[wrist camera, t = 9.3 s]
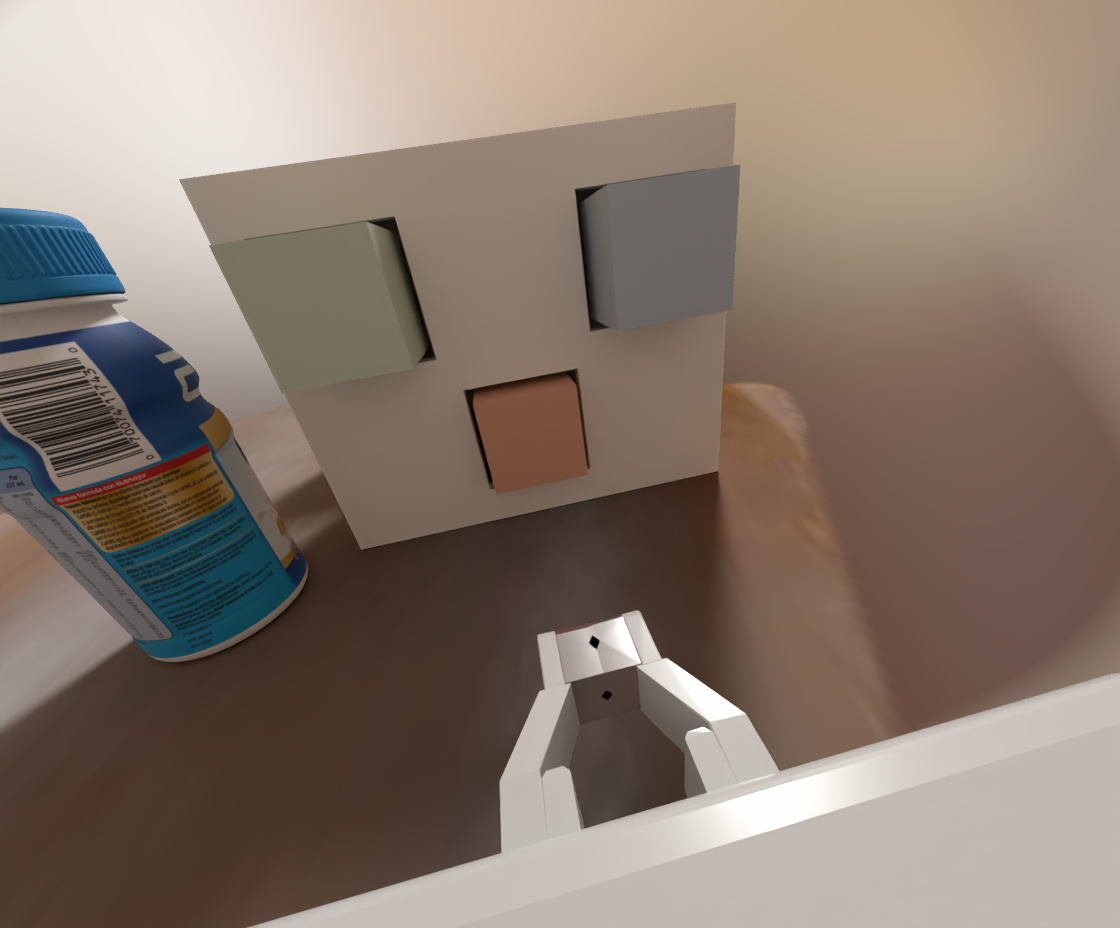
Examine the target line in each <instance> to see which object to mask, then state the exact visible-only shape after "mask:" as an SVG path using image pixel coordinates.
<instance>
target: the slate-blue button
mask: <svg viewBox="0 0 1120 928" xmlns="http://www.w3.org/2000/svg"><path fill="white" fill-rule="evenodd" d="M739 177H740V165H733V166H727V167H720V168H714V169H707V170H701V171H694V172H688V173H681V174H674V175H668V176H661V177H655V178H648V179H642V180H635V181H629V182H622V183H615V184H609V185H606V186H604V187H603V188H601V189H600V190H598V191H597V192H595V193H594V194H592V195H591V196H589V197H588V198H586V199H585V200H583V201H582V202H580V203H579V204H578V214H579V224H580V233H581V243H582V252H583V262H584V271H585V281H586V290H587V300H588V309H589V318H592V319H594V320H596V321H598V322H600V323H602V324H604V325H606V326H608V327H610V328H612V329H614V330H616V331H622V330H628V329H633V328H638V327H644V326H649V325H655V324H660V323H665V322H671V321H676V320H682V319H687V318H692V317H698V316H703V315H709V314H714V313H720V312H725V311H730V310H732V305H733V287H734V268H735V251H736V232H737V215H738V196H739Z"/></svg>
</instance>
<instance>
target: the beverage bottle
mask: <svg viewBox="0 0 1120 928" xmlns="http://www.w3.org/2000/svg"><path fill="white" fill-rule="evenodd" d="M124 293H125V289H124V287H123V285H122V283H121V282H120V280H119V278H118V277H117V276H116V273H115V271H114V269H113V268H112V266H111V264H110V263H109V261H108V260H107V258H106V256H105V255H104V253H103V251H102V250H101V248H100V247H99V245H98V243H97V242H96V240H95V238H94V237H93V235H92V234H90V233H89V232H88V231H87V229H86V228H85V226H84V225H83V224H82V223H81V222H80V221H79V220H77V219H75V218H73V217H70V216H67V215H63V214H59V213H53V212H46V211H37V210H27V209H12V208H0V510H1V511H3V512H5V513H7V514H9V515H11V516H13V517H14V518H15V519H16V520H17V521H18V522H19V523H20V524H21V525H22V526H23V527H24V528H25V529H26V530H27V531H28V532H29V533H30V534H31V535H32V536H33V537H34V538H35V539H36V540H37V541H38V542H39V543H40V544H41V545H42V546H43V547H44V548H45V549H46V550H47V551H48V552H49V553H50V554H51V555H52V556H53V557H54V558H55V559H56V560H57V561H58V562H59V563H60V564H61V565H62V566H63V567H64V568H65V569H66V570H67V571H68V572H69V573H70V574H71V575H72V576H73V577H74V578H75V579H76V580H77V581H78V582H79V583H80V584H81V585H82V586H83V587H84V588H85V589H86V590H87V591H88V592H89V594H90V595H91V596H92V597H93V598H94V599H95V600H96V601H97V602H98V603H99V604H100V605H101V606H102V607H103V608H104V609H105V610H106V611H107V612H108V613H109V614H110V615H111V616H112V617H113V618H114V619H115V620H116V621H117V622H118V623H119V624H120V625H121V626H122V627H123V628H124V629H125V630H126V631H127V632H128V633H129V634H130V635H131V636H132V637H133V639H134V640H135V642H136V643H137V644H138V645H139V646H140V647H141V648H142V649H143V650H144V651H145V652H146V653H147V654H148V655H149V656H151V657H152V658H154V659H157V660H160V661H166V662H182V661H189V660H194V659H198V658H201V657H205V656H208V655H211V654H214V653H216V652H219V651H221V650H224V649H226V648H228V647H230V646H232V645H234V644H236V643H238V642H240V641H242V640H244V639H246V638H247V637H249V636H251V635H252V634H254V633H256V632H257V631H259V630H260V629H262V628H263V627H264V626H266V625H267V624H268V623H270V622H271V621H272V620H274V619H275V618H276V617H277V616H278V615H280V614H281V613H282V612H283V611H284V610H285V609H286V608H287V607H288V606H289V605H290V604H291V603H292V602H293V601H294V599H295V598H296V597H297V596H298V594H299V593H300V591H301V590H302V588H303V586H304V584H305V582H306V579H307V576H308V564H307V561H306V559H305V557H304V556H303V554H302V552H301V551H300V549H299V548H298V547H297V545H296V544H295V542H294V540H293V539H292V537H291V535H290V533H289V532H288V530H287V528H286V527H285V525H284V523H283V521H282V520H281V518H280V516H279V514H278V513H277V511H276V509H275V508H274V506H273V504H272V502H271V501H270V499H269V497H268V495H267V494H266V492H265V490H264V488H263V487H262V485H261V483H260V481H259V480H258V478H257V476H256V474H255V473H254V471H253V469H252V467H251V466H250V464H249V462H248V460H247V459H246V457H245V455H244V453H243V452H242V450H241V448H240V446H239V445H238V443H237V441H236V439H235V438H234V432H233V428H232V426H231V424H230V423H229V421H228V420H227V418H226V417H225V415H224V414H223V413H222V412H221V411H220V410H219V409H218V408H216V407H215V406H214V405H212V404H210V403H209V402H207V401H206V400H205V399H204V398H203V397H202V396H201V394H200V392H199V376H198V374H197V372H196V371H195V369H194V368H193V367H192V366H191V365H190V364H189V363H188V362H187V361H186V360H185V359H184V358H183V357H182V356H181V355H180V354H179V353H177V352H176V351H175V350H174V349H172V348H171V347H170V346H168V345H167V344H166V343H164V342H163V341H161V340H160V339H158V338H157V337H156V336H154V335H152V334H151V333H149V332H148V331H146V330H144V329H143V328H141V327H139V326H137V325H136V324H134V323H132V322H131V321H129V320H127V319H125V318H123V317H122V316H121V315H120V314H119V313H118V312H117V311H116V310H115V309H114V308H113V307H112V304H117V303H122V302H125V301H127V300H128V299H127V297H126V295H124Z"/></svg>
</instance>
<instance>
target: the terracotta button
mask: <svg viewBox="0 0 1120 928" xmlns="http://www.w3.org/2000/svg"><path fill="white" fill-rule="evenodd" d="M473 408H474V411H475V415H476V419H477V423H478V427H479V430H480V434H481V438H482V442H483V446H484V449H485V453H486V457H487V461H488V465H489V468H490V472H491V476H492V480H493V484H494V487H495V491H496V494H500V493H505V492H510V491H514V490H519V489H524V488H528V487H533V486H538V485H542V484H547V483H552V482H556V481H561V480H566V479H570V478H575V477H580V476H584V475H588V471H587V464H586V456H585V448H584V441H583V433H582V425H581V418H580V410H579V402H578V395H577V387H576V384H575V383H574V382H573V380H572V379H571V378H570V376H569V375H568V374H567V372H566V371H562V372H557V373H552V374H546V375H541V376H536V377H531V378H525V379H520V380H515V381H510V382H504V383H499V384H494V385H489V386H484V387H478V388H474V398H473Z"/></svg>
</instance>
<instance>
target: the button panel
mask: <svg viewBox="0 0 1120 928" xmlns="http://www.w3.org/2000/svg"><path fill="white" fill-rule="evenodd" d="M735 112H736V103H729V104H722V105H715V106H708V107H700V108H693V109H685V110H678V111H671V112H664V113H656V114H649V115H643V116H635V117H628V118H621V119H613V120H606V121H599V122H591V123H584V124H577V125H570V126H563V127H555V128H548V129H541V130H534V131H526V132H520V133H512V134H505V135H498V136H491V137H484V138H476V139H469V140H462V141H454V142H447V143H440V144H433V145H426V146H418V147H412V148H404V149H396V150H389V151H382V152H375V153H368V154H360V155H353V156H346V157H339V158H331V159H324V160H317V161H310V162H303V163H295V164H288V165H281V166H275V167H267V168H259V169H252V170H245V171H237V172H230V173H223V174H216V175H209V176H201V177H194V178H187V179H180V182H181V184H182V186H183V188H184V191H185V192H186V195H187V196H188V199H189V201H190V203H191V205H192V207H193V209H194V211H195V212H196V215H197V217H198V219H199V221H200V223H201V225H202V227H203V229H204V231H205V233H206V235H207V237H208V239H209V241H210V243H211V245H215V244H222V243H229V242H235V241H242V240H248V239H255V238H261V237H268V236H274V235H281V234H288V233H294V232H301V231H307V230H314V229H320V228H327V227H333V226H340V225H347V224H353V223H360V222H369V223H371V224H374V225H377V226H379V227H382V228H385V229H387V230H390V231H392V232H395V233H396V235H397V238H398V242H399V245H400V248H401V252H402V255H403V259H404V262H405V265H406V269H407V272H408V276H409V279H410V282H411V286H412V289H413V292H414V296H415V299H416V303H417V306H418V309H419V313H420V316H421V320H422V323H423V326H424V330H425V333H426V336H427V340H428V343H429V348H428V349H427V351H426V352H425V353H424V355H423V356H422V358H421V359H420V361H419V362H418V364H417V365H416V366H415V368H414V369H411V370H406V371H401V372H395V373H390V374H384V375H379V376H373V377H368V378H363V379H357V380H352V381H346V382H341V383H336V384H330V385H325V386H319V387H314V388H309V389H303V390H298V391H292V392H287V393H285V395H286V398H287V400H288V402H289V404H290V406H291V408H292V410H293V412H294V414H295V416H296V418H297V420H298V422H299V424H300V426H301V428H302V430H303V432H304V434H305V437H306V439H307V441H308V443H309V445H310V447H311V449H312V451H313V453H314V455H315V457H316V459H317V461H318V463H319V465H320V467H321V469H322V471H323V473H324V475H325V477H326V479H327V481H328V483H329V485H330V487H331V489H332V491H333V493H334V495H335V497H336V500H337V502H338V504H339V506H340V508H341V510H342V512H343V514H344V516H345V518H346V520H347V522H348V524H349V526H350V528H351V530H352V532H353V534H354V536H355V538H356V540H357V542H358V544H359V546H360V548H361V550H362V549H367V548H372V547H376V546H381V545H385V544H390V543H394V542H399V541H403V540H408V539H412V538H417V537H421V536H426V535H431V534H435V533H440V532H444V531H449V530H453V529H458V528H462V527H467V526H471V525H476V524H480V523H485V522H490V521H494V520H499V519H503V518H508V517H512V516H517V515H521V514H526V513H530V512H535V511H539V510H544V509H548V508H553V507H558V506H562V505H567V504H571V503H576V502H580V501H585V500H589V499H594V498H598V497H603V496H607V495H612V494H617V493H621V492H626V491H630V490H635V489H639V488H644V487H648V486H653V485H657V484H662V483H666V482H671V481H676V480H680V479H685V478H689V477H694V476H698V475H703V474H707V473H712V472H716V471H718V464H719V444H720V423H721V402H722V382H723V361H724V360H723V359H724V340H725V319H726V318H725V317H726V311H725V312H720V313H714V314H709V315H703V316H698V317H692V318H687V319H682V320H676V321H671V322H665V323H660V324H655V325H649V326H644V327H638V328H633V329H628V330H622V331H616V330H614V329H612V328H610V327H608V326H606V325H604V324H602V323H600V322H598V321H596V320H594V319H592V318H589V309H588V300H587V290H586V281H585V271H584V262H583V252H582V243H581V233H580V224H579V214H578V204H579V203H580V202H582V201H583V200H585V199H586V198H588V197H589V196H591V195H592V194H594V193H595V192H597V191H598V190H600V189H601V188H603V187H604V186H606V185H609V184H615V183H622V182H629V181H635V180H642V179H648V178H655V177H661V176H668V175H674V174H681V173H688V172H694V171H701V170H707V169H714V168H720V167H727V166H733V155H734V154H733V153H734V133H735V114H736V113H735ZM562 371H566V372H567V374H568V375H569V376H570V378H571V379H572V380H573V382H574V383H575V384H576V387H577V395H578V402H579V410H580V418H581V425H582V433H583V441H584V443H585V451H586V459H587V462H586V464H587V471H588V475H584V476H580V477H575V478H570V479H566V480H561V481H556V482H552V483H547V484H542V485H538V486H533V487H528V488H524V489H519V490H514V491H510V492H505V493H500V494H496V491H495V487H494V484H493V482H490V481H489V478H488V474H487V470H486V466H485V463H488V461H487V457H486V453H485V449H484V446H483V442H482V438H481V434H480V430H479V427H478V423H477V419H476V415H475V411H474V408H473V398H474V388H478V387H484V386H489V385H494V384H499V383H504V382H510V381H515V380H520V379H525V378H531V377H536V376H541V375H546V374H552V373H557V372H562Z"/></svg>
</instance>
